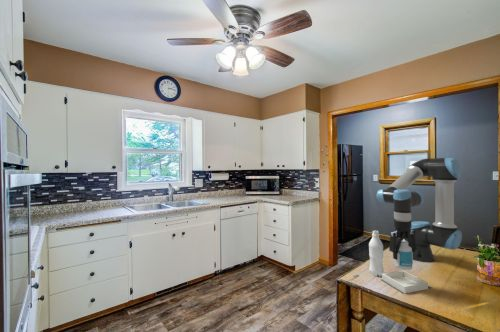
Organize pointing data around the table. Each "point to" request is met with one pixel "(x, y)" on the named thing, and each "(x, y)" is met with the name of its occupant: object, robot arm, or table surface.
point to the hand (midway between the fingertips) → (403, 264)
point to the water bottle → (376, 255)
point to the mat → (399, 290)
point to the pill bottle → (405, 256)
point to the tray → (404, 281)
